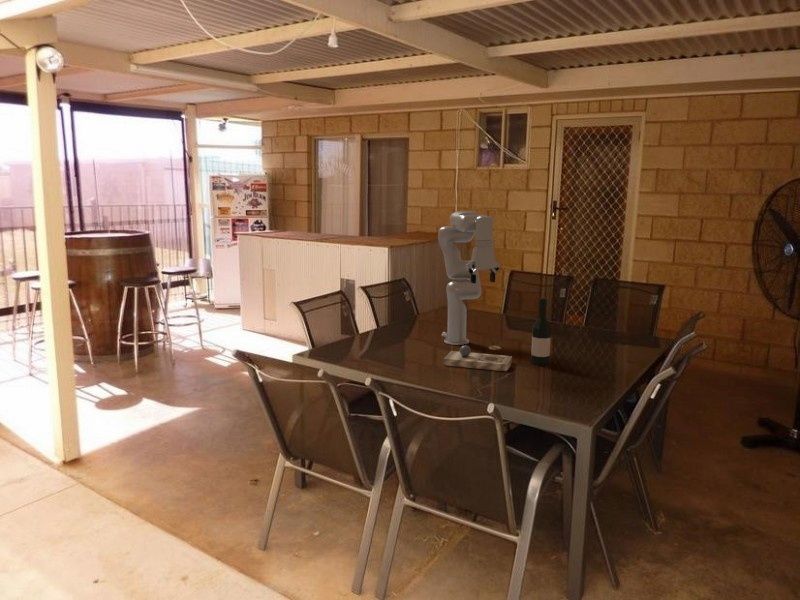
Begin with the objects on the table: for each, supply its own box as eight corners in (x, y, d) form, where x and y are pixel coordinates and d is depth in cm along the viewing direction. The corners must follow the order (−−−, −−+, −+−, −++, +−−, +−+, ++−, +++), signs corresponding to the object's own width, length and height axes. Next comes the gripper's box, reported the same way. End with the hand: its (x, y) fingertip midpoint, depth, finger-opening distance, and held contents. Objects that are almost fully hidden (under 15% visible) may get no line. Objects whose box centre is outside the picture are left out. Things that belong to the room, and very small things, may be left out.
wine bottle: (536, 366, 267) (539, 299, 262) (527, 361, 275) (530, 296, 270) (553, 365, 269) (556, 298, 264) (543, 360, 277) (547, 295, 272)
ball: (457, 356, 272) (457, 345, 271) (463, 354, 276) (463, 343, 275) (466, 358, 269) (467, 347, 268) (472, 356, 272) (473, 345, 272)
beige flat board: (443, 365, 269) (443, 358, 268) (451, 357, 282) (451, 350, 281) (507, 371, 260) (507, 364, 259) (511, 362, 273) (512, 356, 272)
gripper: (496, 243, 275) (495, 280, 278) (462, 244, 268) (461, 282, 271) (505, 244, 268) (504, 282, 271) (470, 245, 262) (470, 284, 265)
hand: (482, 282), depth 271 cm, fingers open, 9 cm apart
